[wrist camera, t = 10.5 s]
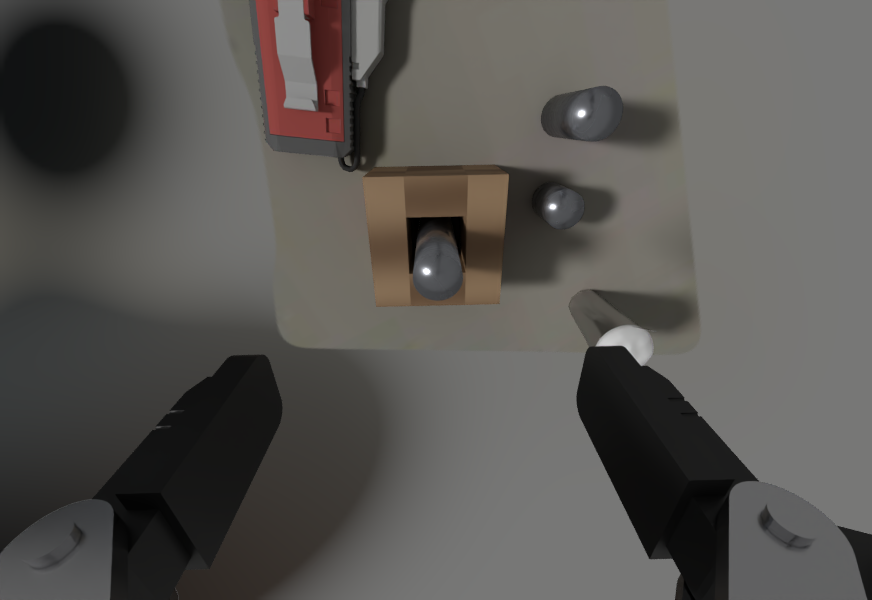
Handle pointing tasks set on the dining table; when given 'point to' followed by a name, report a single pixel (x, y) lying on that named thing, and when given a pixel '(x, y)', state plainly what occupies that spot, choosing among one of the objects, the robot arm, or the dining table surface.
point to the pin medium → (583, 114)
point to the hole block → (436, 197)
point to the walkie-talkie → (316, 71)
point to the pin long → (437, 259)
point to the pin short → (558, 205)
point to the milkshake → (609, 326)
